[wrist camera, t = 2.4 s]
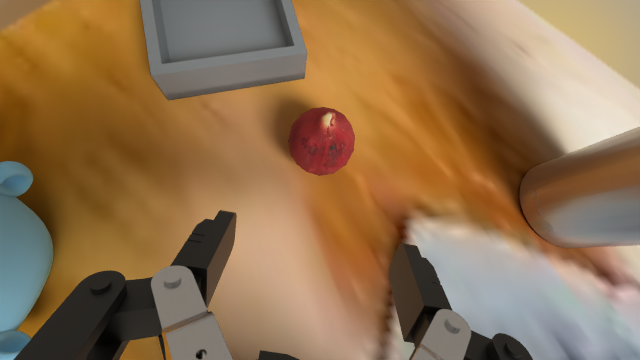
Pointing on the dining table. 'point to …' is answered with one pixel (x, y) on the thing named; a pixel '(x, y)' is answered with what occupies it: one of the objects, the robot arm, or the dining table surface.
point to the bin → (221, 44)
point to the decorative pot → (19, 257)
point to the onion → (321, 141)
